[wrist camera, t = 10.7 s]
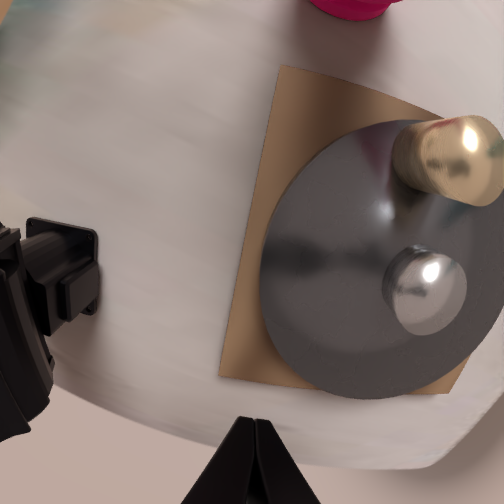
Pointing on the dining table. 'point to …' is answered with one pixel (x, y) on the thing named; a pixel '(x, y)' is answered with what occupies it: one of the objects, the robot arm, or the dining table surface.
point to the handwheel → (387, 256)
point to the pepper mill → (354, 8)
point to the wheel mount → (270, 190)
